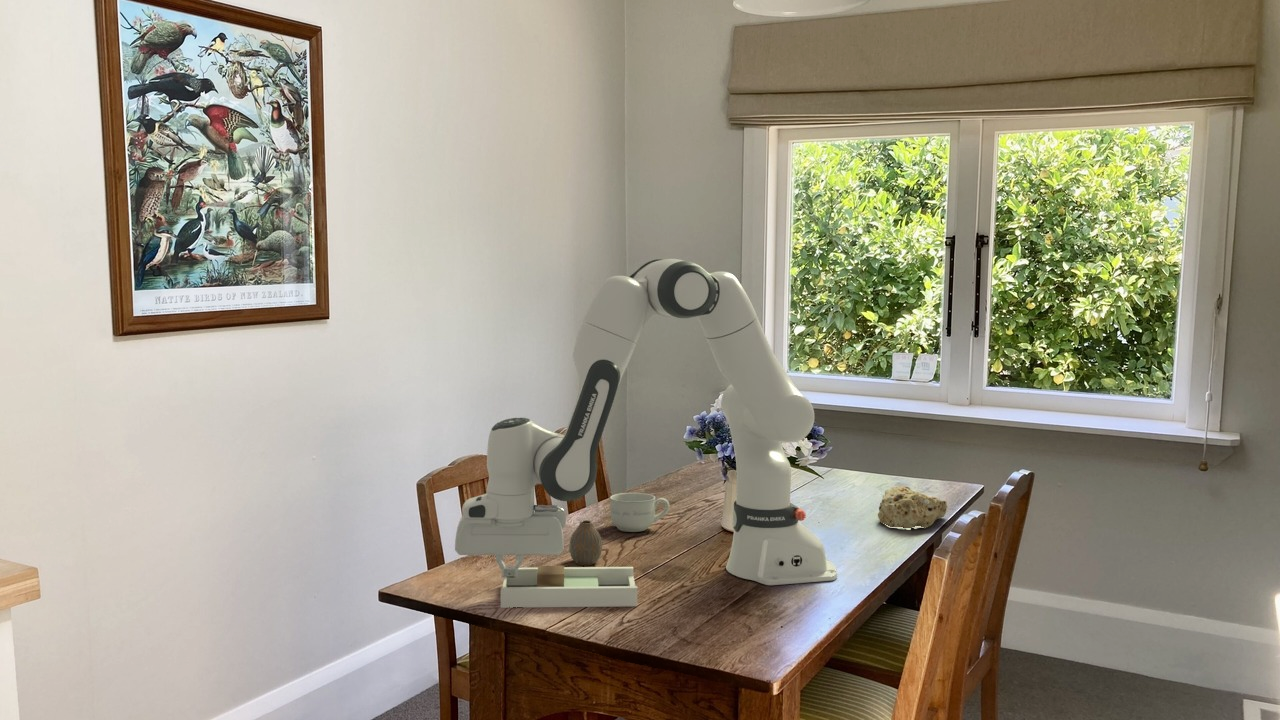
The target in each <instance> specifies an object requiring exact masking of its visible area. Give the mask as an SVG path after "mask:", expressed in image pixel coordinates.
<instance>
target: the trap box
mask: <svg viewBox="0 0 1280 720" xmlns="http://www.w3.org/2000/svg"><path fill="white" fill-rule="evenodd" d="M537 571H538V567H519V568H518V573H517V578H503V582H502V587H500V608H501V609H505V608H506V609H508V608H509V607H510V608H511V609H512V608H513V607H516V608H515V609H518V608H517V607H523V608H590V607H592V608H597V607H598V608H601V607H603V608H604V607H606V608H607V607H608V608H609V607H612V608H613V607H614V608H615V607H638V595H639V594H638V590H639V589H638V588H639V587H638V585H636V583H635V582H636V581H635V577H634V566H584V567H583V566H569V567H568V566H567V567H565V566H564V587H537ZM510 608H509V609H510Z"/></svg>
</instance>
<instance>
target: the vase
mask: <svg viewBox="0 0 1280 720" xmlns="http://www.w3.org/2000/svg"><path fill="white" fill-rule="evenodd" d="M568 547H569V548H568V549H569V554H570V556H571V559H572V561H573V562H575V563H576V564H577V565H578V566H592V565H595V564H596V563H597V562H598V560H600V558H601V555H602V552H603V540H602V536H601V534H600V533H599V531H598V530H597V529H596V527H595V526H594V524H593V522H592V521H591V520H581V521H580V522H579V524H578V526H577V527H576V529H575V530H574V531H573V532H572V534H571V537H570V539H569V545H568Z"/></svg>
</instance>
